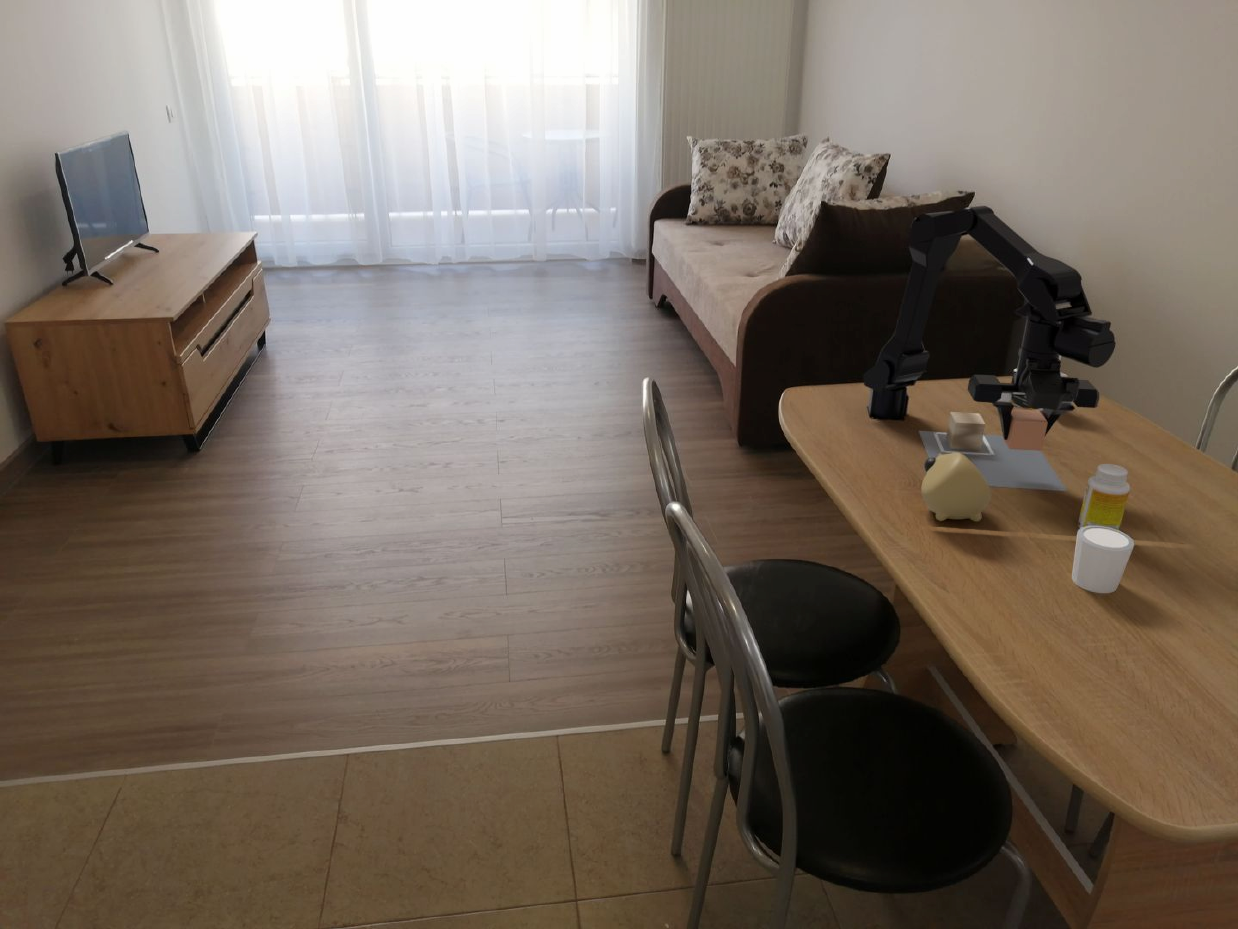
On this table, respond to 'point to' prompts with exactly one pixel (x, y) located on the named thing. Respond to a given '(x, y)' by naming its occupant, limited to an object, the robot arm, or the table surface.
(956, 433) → the base block
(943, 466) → the toy pig
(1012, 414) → the top block
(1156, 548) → the table surface
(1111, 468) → the supplement bottle
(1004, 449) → the build mat
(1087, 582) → the white cylinder
